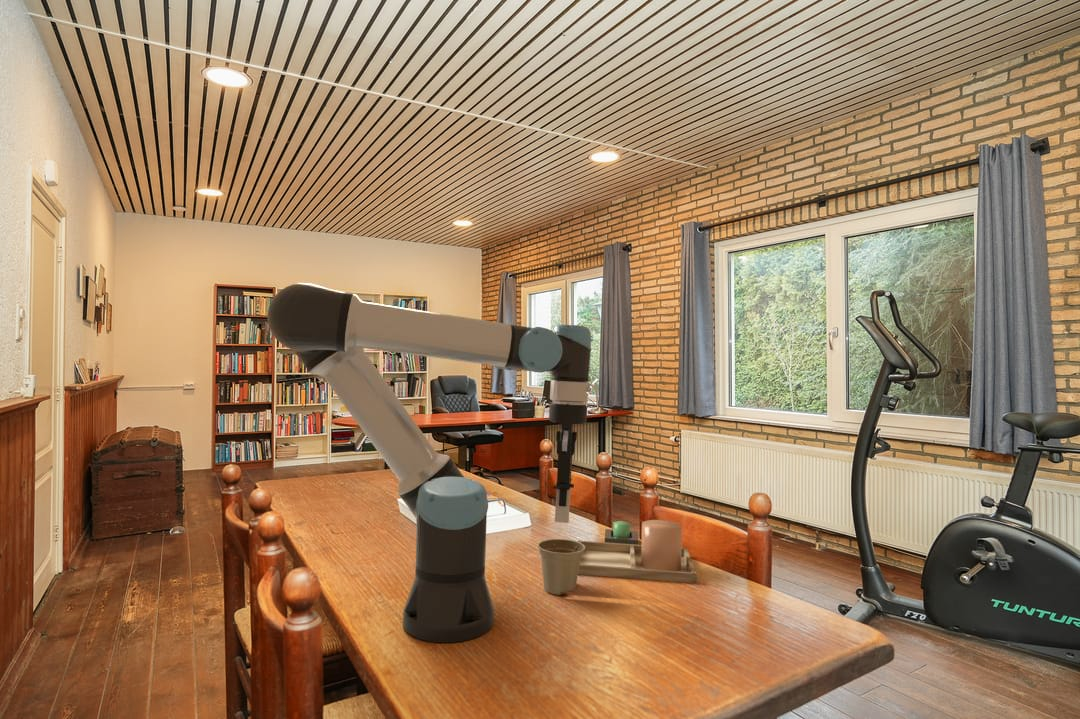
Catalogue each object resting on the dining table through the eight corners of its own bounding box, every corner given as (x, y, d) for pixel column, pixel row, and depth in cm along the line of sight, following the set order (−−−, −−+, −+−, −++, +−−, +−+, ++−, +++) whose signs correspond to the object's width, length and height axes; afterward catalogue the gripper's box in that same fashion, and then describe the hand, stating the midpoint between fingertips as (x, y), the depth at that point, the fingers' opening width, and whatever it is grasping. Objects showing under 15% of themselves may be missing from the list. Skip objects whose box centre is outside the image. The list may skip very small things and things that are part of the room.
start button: (629, 546, 144) (630, 526, 144) (612, 545, 145) (613, 524, 145) (629, 542, 148) (629, 521, 148) (613, 540, 149) (613, 520, 149)
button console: (638, 553, 142) (638, 540, 142) (604, 550, 143) (604, 538, 143) (637, 543, 150) (637, 531, 150) (605, 540, 151) (605, 529, 151)
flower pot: (584, 582, 122) (585, 540, 122) (583, 600, 112) (584, 554, 112) (538, 579, 123) (539, 537, 123) (533, 597, 113) (535, 551, 113)
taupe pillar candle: (683, 574, 126) (684, 531, 126) (641, 571, 127) (642, 529, 127) (678, 561, 134) (679, 521, 134) (640, 558, 136) (641, 518, 136)
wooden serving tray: (696, 587, 121) (696, 574, 121) (572, 577, 124) (572, 564, 124) (686, 559, 139) (686, 548, 139) (577, 551, 142) (578, 540, 142)
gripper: (586, 405, 113) (579, 531, 112) (588, 402, 125) (581, 515, 125) (547, 403, 113) (539, 528, 113) (552, 400, 126) (545, 512, 126)
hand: (561, 521), depth 119 cm, fingers closed
